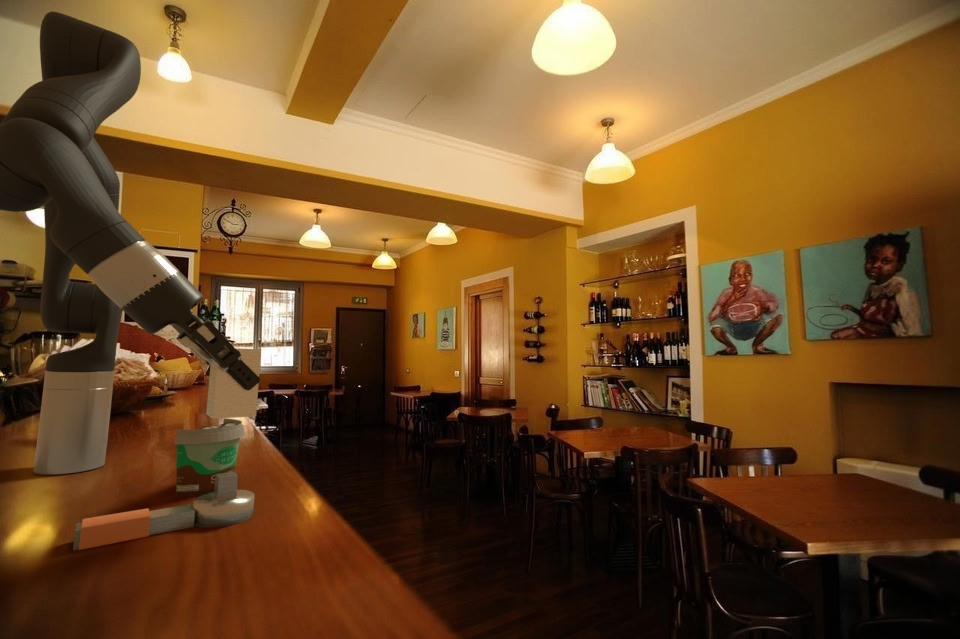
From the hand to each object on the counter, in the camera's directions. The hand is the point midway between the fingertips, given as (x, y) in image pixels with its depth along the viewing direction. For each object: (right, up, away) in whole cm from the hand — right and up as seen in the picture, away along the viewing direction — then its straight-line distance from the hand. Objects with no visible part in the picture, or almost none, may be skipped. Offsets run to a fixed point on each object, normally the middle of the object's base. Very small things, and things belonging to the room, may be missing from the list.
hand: (248, 383), depth 59 cm
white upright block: (-2, -4, -2) cm, 5 cm away
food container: (-10, -18, +9) cm, 23 cm away
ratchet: (-6, -17, -6) cm, 19 cm away
